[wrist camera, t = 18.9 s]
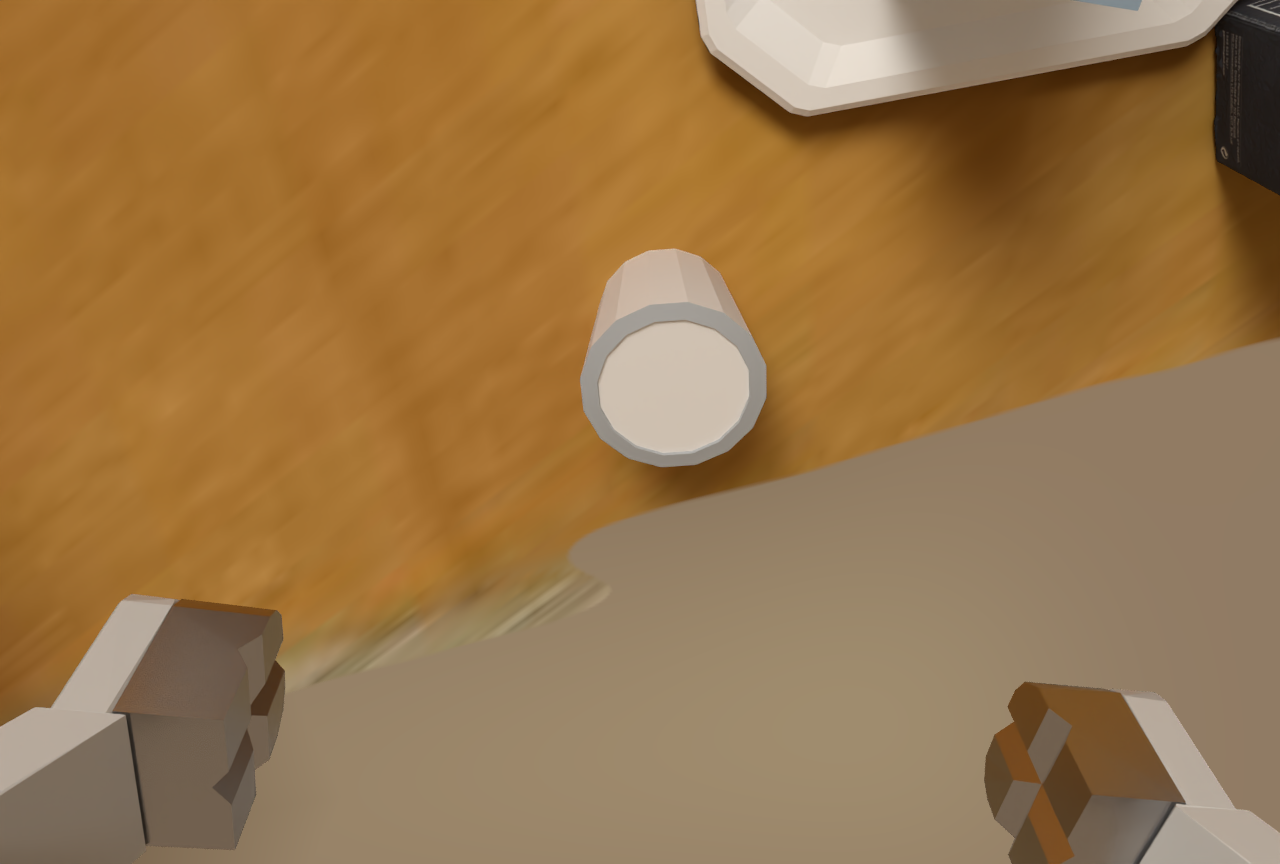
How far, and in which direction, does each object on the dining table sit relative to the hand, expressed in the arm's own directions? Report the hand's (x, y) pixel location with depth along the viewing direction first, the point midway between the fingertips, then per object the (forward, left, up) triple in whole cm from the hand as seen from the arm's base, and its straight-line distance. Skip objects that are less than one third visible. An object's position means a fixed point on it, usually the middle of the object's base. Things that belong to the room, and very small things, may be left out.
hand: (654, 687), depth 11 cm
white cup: (+3, -9, -31) cm, 33 cm away
